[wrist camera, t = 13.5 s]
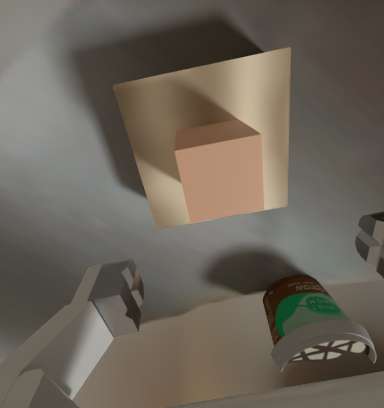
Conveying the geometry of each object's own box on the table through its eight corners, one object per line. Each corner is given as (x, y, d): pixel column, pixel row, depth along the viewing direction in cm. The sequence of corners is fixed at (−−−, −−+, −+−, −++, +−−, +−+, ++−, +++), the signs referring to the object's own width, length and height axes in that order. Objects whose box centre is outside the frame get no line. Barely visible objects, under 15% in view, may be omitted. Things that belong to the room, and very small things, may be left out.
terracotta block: (188, 186, 21) (190, 222, 15) (176, 131, 18) (174, 151, 13) (242, 176, 20) (264, 209, 15) (237, 118, 18) (261, 133, 13)
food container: (339, 265, 33) (396, 331, 24) (330, 294, 36) (379, 362, 27) (255, 273, 33) (282, 342, 24) (253, 301, 36) (276, 372, 27)
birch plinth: (160, 205, 27) (157, 229, 23) (126, 84, 21) (111, 85, 16) (269, 185, 26) (287, 206, 22) (266, 54, 20) (290, 46, 16)
